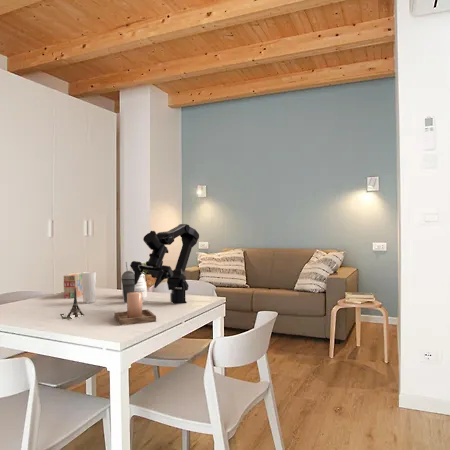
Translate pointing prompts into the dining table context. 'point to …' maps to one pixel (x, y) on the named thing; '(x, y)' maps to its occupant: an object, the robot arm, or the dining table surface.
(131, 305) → the pinkish-brown upright cylinder
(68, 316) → the eiffel tower figurine
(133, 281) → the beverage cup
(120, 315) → the tray
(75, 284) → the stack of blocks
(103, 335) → the dining table surface
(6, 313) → the dining table surface
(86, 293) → the white tall cylinder
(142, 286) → the honey pot
